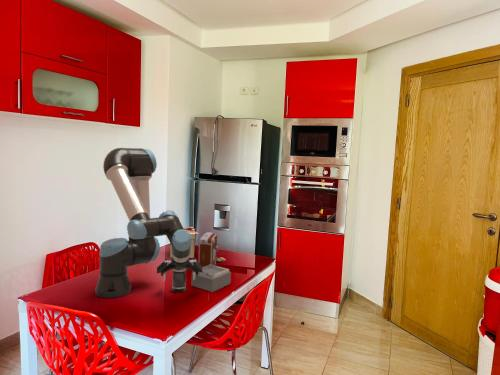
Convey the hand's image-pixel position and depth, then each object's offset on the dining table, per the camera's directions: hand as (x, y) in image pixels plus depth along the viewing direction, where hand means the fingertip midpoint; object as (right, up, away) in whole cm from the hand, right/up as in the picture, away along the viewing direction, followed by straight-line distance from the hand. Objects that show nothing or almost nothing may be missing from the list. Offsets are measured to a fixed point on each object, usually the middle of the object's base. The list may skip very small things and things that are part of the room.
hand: (179, 277), depth 175 cm
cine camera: (+10, -3, +29) cm, 31 cm away
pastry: (+13, -2, +45) cm, 47 cm away
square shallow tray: (+14, -5, +7) cm, 17 cm away
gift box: (-8, 0, +54) cm, 54 cm away
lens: (0, -6, -2) cm, 6 cm away
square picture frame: (+14, +1, +7) cm, 16 cm away
